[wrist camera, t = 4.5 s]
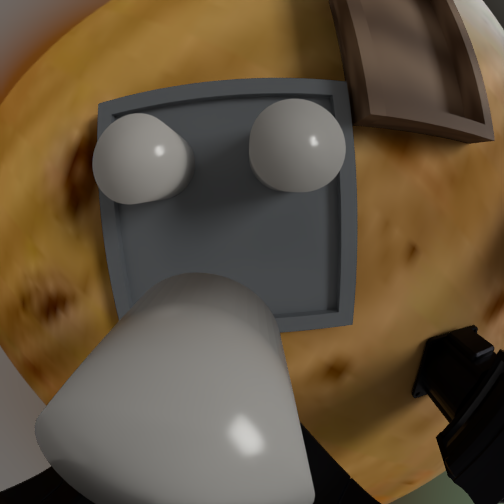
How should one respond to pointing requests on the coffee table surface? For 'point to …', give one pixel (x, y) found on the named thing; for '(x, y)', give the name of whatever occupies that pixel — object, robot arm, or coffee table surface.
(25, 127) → the coffee table surface
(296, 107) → the stone
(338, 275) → the slate tray
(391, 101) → the walnut box
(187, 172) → the stone
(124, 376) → the stone
